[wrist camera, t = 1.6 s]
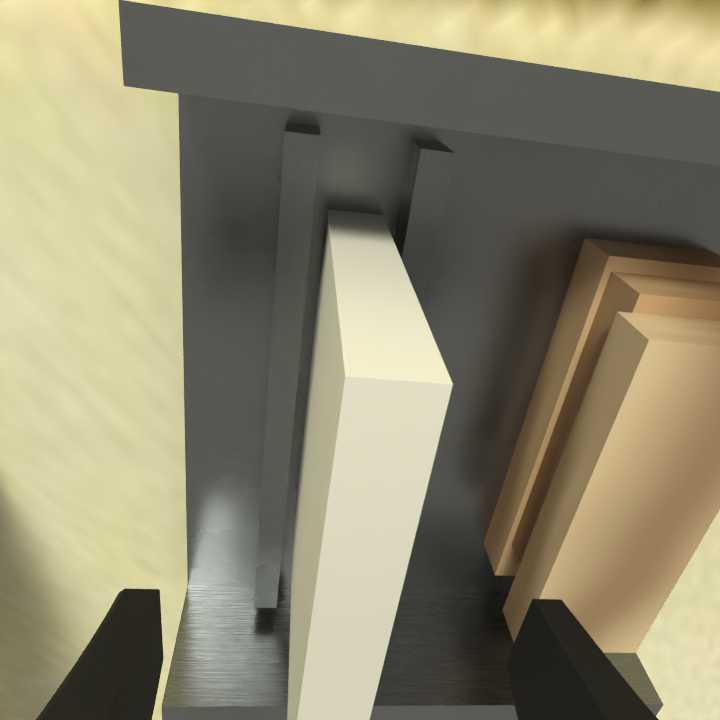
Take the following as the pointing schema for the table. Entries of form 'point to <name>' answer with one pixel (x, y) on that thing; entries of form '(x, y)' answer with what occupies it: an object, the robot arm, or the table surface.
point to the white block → (359, 468)
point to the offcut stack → (617, 444)
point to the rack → (432, 287)
